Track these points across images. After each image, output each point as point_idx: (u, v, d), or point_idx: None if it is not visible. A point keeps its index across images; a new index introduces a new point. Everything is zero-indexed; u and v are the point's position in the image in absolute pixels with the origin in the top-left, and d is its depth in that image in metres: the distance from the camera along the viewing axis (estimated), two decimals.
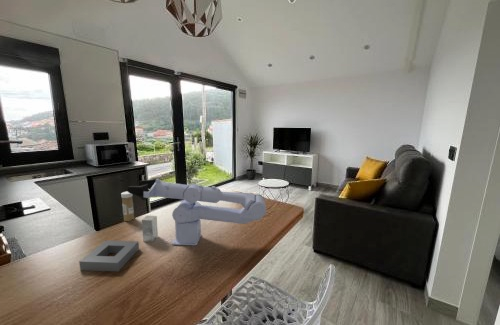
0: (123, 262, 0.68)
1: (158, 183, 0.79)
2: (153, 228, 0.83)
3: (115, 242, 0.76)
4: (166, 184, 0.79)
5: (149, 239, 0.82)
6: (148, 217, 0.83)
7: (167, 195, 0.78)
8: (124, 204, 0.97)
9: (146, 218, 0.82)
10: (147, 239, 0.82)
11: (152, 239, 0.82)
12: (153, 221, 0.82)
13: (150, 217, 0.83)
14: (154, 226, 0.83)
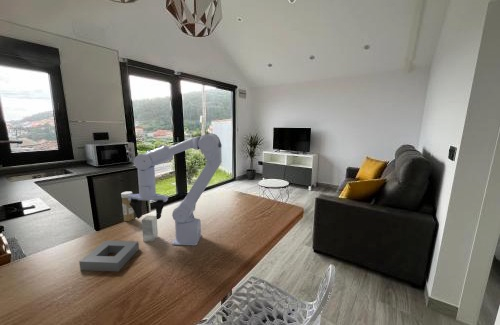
0: (123, 262, 0.68)
1: None
2: (153, 228, 0.83)
3: (115, 242, 0.76)
4: None
5: (149, 239, 0.82)
6: (148, 217, 0.83)
7: (146, 185, 0.78)
8: (124, 204, 0.97)
9: (146, 218, 0.82)
10: (147, 239, 0.82)
11: (152, 239, 0.82)
12: (153, 221, 0.82)
13: (150, 217, 0.83)
14: (154, 226, 0.83)
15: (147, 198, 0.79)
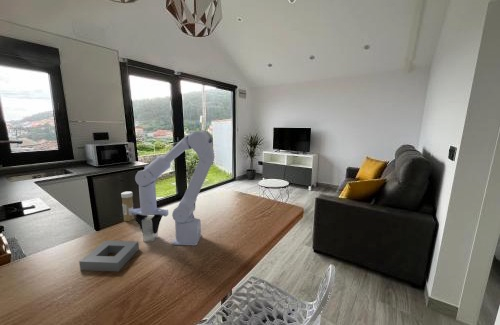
0: (123, 262, 0.68)
1: None
2: None
3: (115, 242, 0.76)
4: None
5: (149, 239, 0.82)
6: (148, 217, 0.83)
7: (147, 201, 0.79)
8: (124, 204, 0.97)
9: (146, 218, 0.82)
10: (147, 239, 0.82)
11: (152, 239, 0.82)
12: None
13: (150, 217, 0.83)
14: None
15: (148, 213, 0.80)
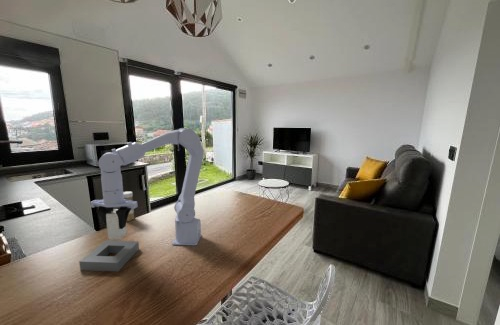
0: (123, 262, 0.68)
1: None
2: None
3: (115, 242, 0.76)
4: None
5: (115, 236, 0.71)
6: (114, 211, 0.71)
7: (116, 190, 0.68)
8: None
9: (112, 212, 0.71)
10: (112, 236, 0.71)
11: (118, 236, 0.71)
12: None
13: None
14: None
15: (112, 205, 0.68)
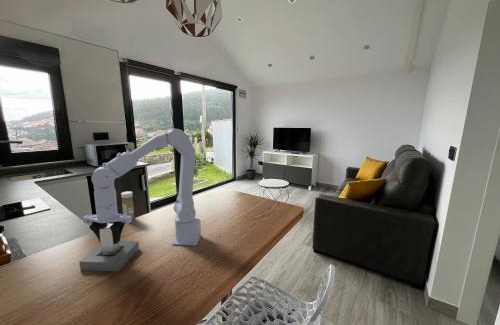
0: (123, 262, 0.68)
1: None
2: None
3: None
4: None
5: (109, 252, 0.69)
6: (107, 226, 0.70)
7: (110, 205, 0.67)
8: (124, 204, 0.97)
9: (105, 227, 0.69)
10: (106, 252, 0.69)
11: (112, 252, 0.70)
12: None
13: None
14: None
15: (106, 220, 0.66)
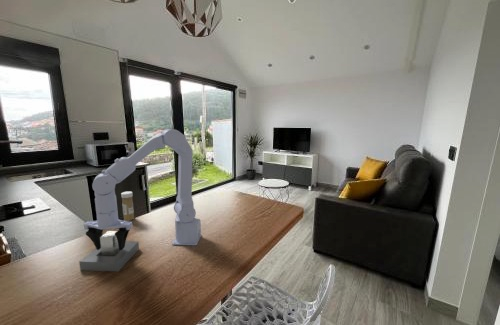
0: (123, 262, 0.68)
1: None
2: (115, 246, 0.70)
3: None
4: None
5: None
6: (108, 234, 0.70)
7: (110, 211, 0.67)
8: (124, 204, 0.97)
9: (106, 234, 0.70)
10: None
11: None
12: (114, 238, 0.70)
13: (111, 233, 0.71)
14: (115, 244, 0.70)
15: (106, 227, 0.67)
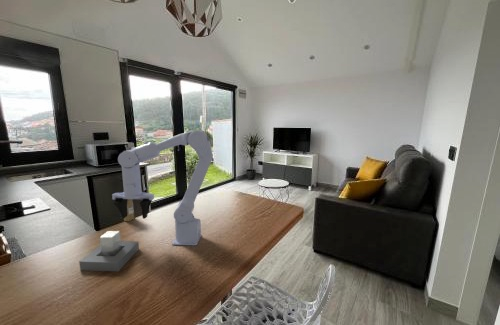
0: (123, 262, 0.68)
1: None
2: (115, 246, 0.70)
3: None
4: None
5: None
6: (108, 234, 0.70)
7: (132, 183, 0.75)
8: None
9: (106, 235, 0.70)
10: None
11: None
12: (114, 238, 0.70)
13: (111, 233, 0.71)
14: (115, 244, 0.70)
15: (132, 197, 0.76)
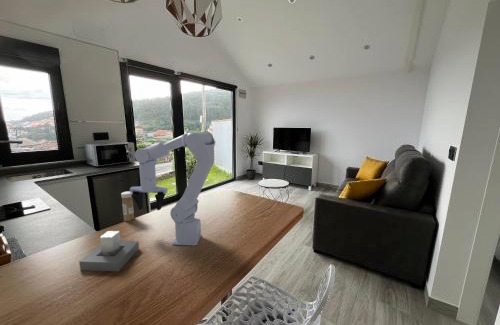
0: (123, 262, 0.68)
1: None
2: (115, 246, 0.70)
3: None
4: None
5: None
6: (108, 234, 0.70)
7: (145, 178, 0.82)
8: (124, 204, 0.97)
9: (106, 235, 0.70)
10: None
11: None
12: (114, 238, 0.70)
13: (111, 233, 0.71)
14: (115, 244, 0.70)
15: (148, 190, 0.83)
